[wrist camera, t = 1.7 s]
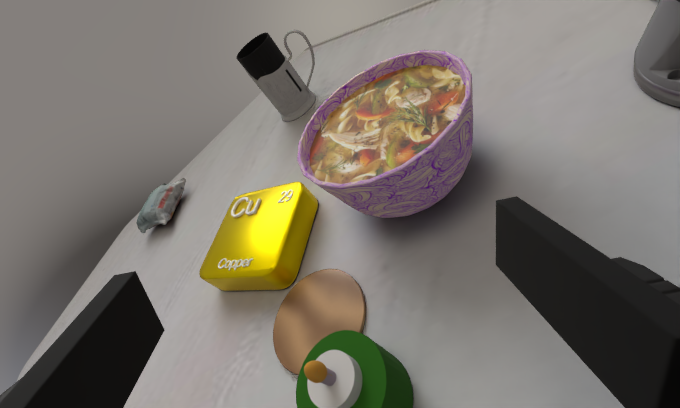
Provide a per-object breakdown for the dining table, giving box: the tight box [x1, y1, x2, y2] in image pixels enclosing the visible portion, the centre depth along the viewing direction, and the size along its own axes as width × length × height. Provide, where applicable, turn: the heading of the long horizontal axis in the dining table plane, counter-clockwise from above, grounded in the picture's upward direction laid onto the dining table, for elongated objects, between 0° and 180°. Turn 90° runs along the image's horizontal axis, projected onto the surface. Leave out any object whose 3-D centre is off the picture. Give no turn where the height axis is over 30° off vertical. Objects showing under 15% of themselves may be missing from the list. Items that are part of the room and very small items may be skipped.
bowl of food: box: [297, 50, 473, 218], centre depth 40 cm, size 20×20×12 cm
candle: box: [296, 330, 413, 408], centre depth 28 cm, size 8×8×10 cm
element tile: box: [200, 182, 318, 291], centre depth 50 cm, size 15×15×5 cm
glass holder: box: [237, 30, 316, 121], centre depth 68 cm, size 9×14×15 cm, turn 86°
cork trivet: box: [273, 269, 366, 375], centre depth 39 cm, size 12×12×1 cm
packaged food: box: [137, 178, 186, 233], centre depth 75 cm, size 9×12×5 cm
